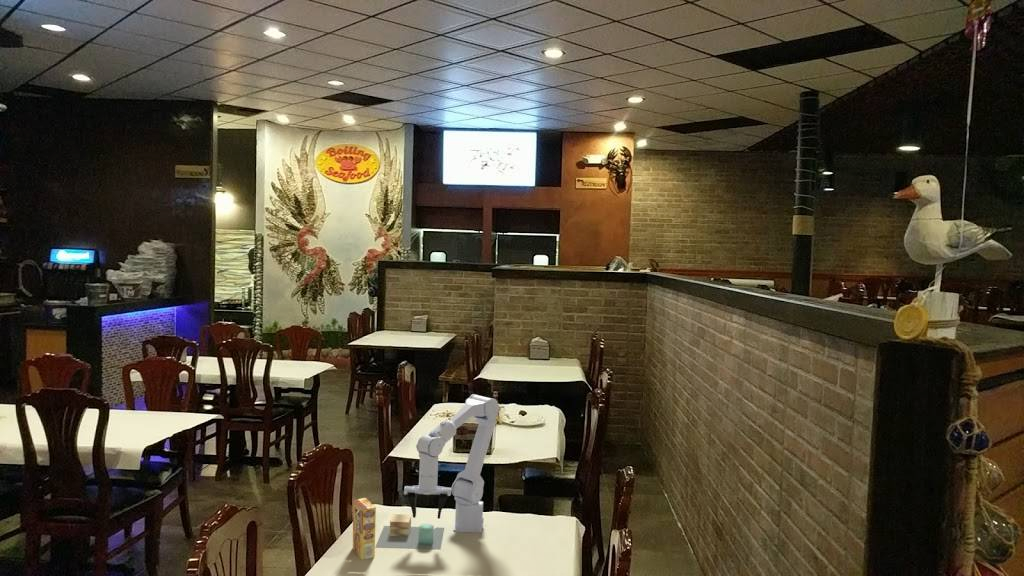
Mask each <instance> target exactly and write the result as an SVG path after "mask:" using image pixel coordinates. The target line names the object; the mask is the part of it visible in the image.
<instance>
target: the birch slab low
mask: <svg viewBox="0 0 1024 576" xmlns="http://www.w3.org/2000/svg"><path fill="white" fill-rule="evenodd" d="M411 527H412V522H411V523H410V527H409V529H390V536H409V533H410V529H411Z"/></svg>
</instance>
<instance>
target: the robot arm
mask: <svg viewBox="0 0 1024 576" xmlns="http://www.w3.org/2000/svg"><path fill="white" fill-rule="evenodd" d="M499 411H500V405H499V402H498V401H497V399H495V398H494V397H493V398H492V397H491V398H490V397H487V396H482V395H478V394H475V393H474V394H473V393H472V394H471V395H470V396H469V397H468V398H466V399H465V402H464V405H463V406H462V407H461V408H460V409H459V410H458V411H457V412H456V414H455V415H453V417H451V419H450V420H446V419H445V420H442V421H440V423H439V424H438V425H437V426H436V427H435V428H434V429H433V430H431V431H430V432H429V433H428V434H424V435H422V436H421V437H420V438H418V441H417V443H416V445H415V447H416V451H417V453H418V457H419V469H418V471H419V473H418V474H419V475H418V477H419V478H418V485H405V486H404V488H403V489H404V490H403V495H407V496H406V498H407V501H408V503H409V506H410V509H411V512H412V518H414V519H416V516H417V497H418V496H417V495H425V496H426V495H427V496H430V495H438V509H437V510H438V511H437V519H441V514H442V510H443V508H444V506H445V503H446V502H447V500H448V497H449V496H451V495H453V497H454V500H455V513H454V514H455V516H454V518H455V519H454V521H453V529H452V531H453V532H465V533H466V532H467V533H468V532H469V533H472V532H473V533H482V532H483V524H484V517H483V516H484V501H482V497H483V494H484V486H485V481H484V479H483V477H482V476H481V473H482V468H483V466H484V462H485V458H486V456H487V452H488V448H489V447H490V443H491V439H492V436H493V433H494V430H495V426H496V421H497V419H498V415H499ZM471 418H474V419H475V420H476V422H477V424H478V425H477V429H476V431H475V435H474V439H473V440H472V441H473V442H472V445H471V446H470V447H471V449H470V451H469V454H468V458H467V461H466V464H465V468H464V469H463V470H462V471H460V472H458V473H457V475H456V478H455V480H454V482H452V485H451V487H447V486H440V485H438V475H439V473H438V472H439V455H441V453H442V452H443V450H444V448H445V445H446V444H447V443H448V442H449V441H450V440H452V438H453V437H455V436H456V434H457V429H459V427H461V426H462V425H463V424H465V423H466V422H468V421H469V420H470V419H471Z"/></svg>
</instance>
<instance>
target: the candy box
mask: <svg viewBox="0 0 1024 576" xmlns="http://www.w3.org/2000/svg"><path fill="white" fill-rule="evenodd" d="M352 506H353V507H352V509H353V511H352V514H353V515H352V550H353V551H354V552H355V553H356V554H357V556H358V557H359V558H360V559H361V561H362V560H363V561H364V560H367V559H372V558H375V556H376V555H375V553H376V552H375V551H376V550H375V549H376V548H375V547H376V519H377V517H376V514H377V512H376V509H377V507H376V506H375V505H374V504H373V503H372V502H370V500H369V499H367V498H366V497H362V498H358V499H354V500H353V505H352Z"/></svg>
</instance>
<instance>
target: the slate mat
mask: <svg viewBox="0 0 1024 576" xmlns="http://www.w3.org/2000/svg"><path fill="white" fill-rule="evenodd" d="M444 533H445V527H439V526H437V527H436V528H435V529H434V534H433V544H431V545H428V546H423V545H420V544H419V543H418V541H419V526H411V529H410V533H409V536H390V525H384V526H383V528H382V530H381V533H380V535H379V537H378V540H377V542H376V543H375V549H376V548H377V549H379V548H381V549H384V548H385V549H407V550H409V549H412V550H413V549H414V550H416V549H417V550H441V548H442V544H443V537H444Z"/></svg>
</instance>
